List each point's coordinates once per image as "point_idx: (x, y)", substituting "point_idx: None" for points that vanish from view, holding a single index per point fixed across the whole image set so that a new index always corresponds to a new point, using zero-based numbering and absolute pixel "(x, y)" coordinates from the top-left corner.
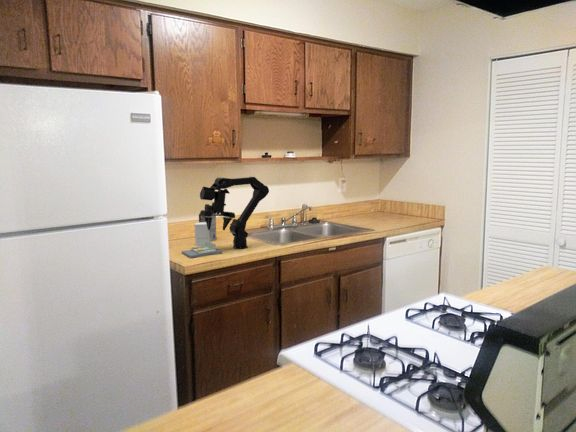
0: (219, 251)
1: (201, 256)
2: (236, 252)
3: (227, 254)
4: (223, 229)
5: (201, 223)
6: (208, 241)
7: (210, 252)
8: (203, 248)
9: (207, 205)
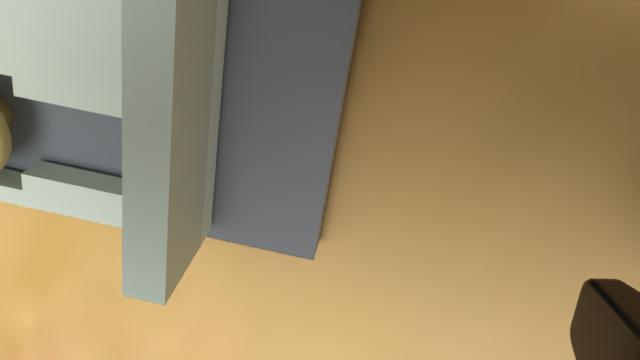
0: (269, 245)
1: None
2: (496, 338)
3: (334, 327)
4: (586, 340)
5: None
6: (157, 1)
7: None
8: (67, 19)
9: None
